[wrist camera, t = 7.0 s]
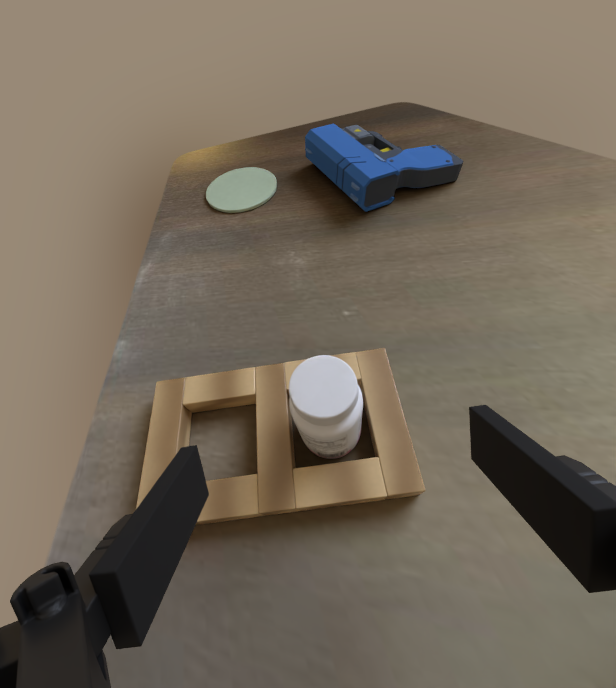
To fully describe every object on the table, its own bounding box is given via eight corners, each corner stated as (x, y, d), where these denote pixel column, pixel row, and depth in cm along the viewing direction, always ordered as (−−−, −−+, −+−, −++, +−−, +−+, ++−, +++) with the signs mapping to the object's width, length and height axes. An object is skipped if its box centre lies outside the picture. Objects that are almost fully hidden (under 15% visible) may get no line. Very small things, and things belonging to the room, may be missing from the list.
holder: (147, 531, 23) (131, 530, 21) (167, 390, 29) (156, 381, 27) (420, 495, 22) (426, 491, 20) (382, 358, 28) (385, 347, 26)
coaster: (204, 218, 42) (203, 215, 41) (208, 176, 47) (207, 173, 47) (279, 206, 41) (278, 203, 41) (275, 165, 47) (274, 162, 46)
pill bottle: (325, 389, 27) (317, 335, 20) (372, 423, 25) (382, 377, 18) (288, 433, 25) (265, 391, 18) (335, 473, 23) (330, 443, 16)
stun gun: (395, 107, 46) (302, 130, 42) (473, 151, 38) (367, 184, 34) (389, 139, 49) (303, 162, 45) (460, 186, 41) (362, 219, 37)
